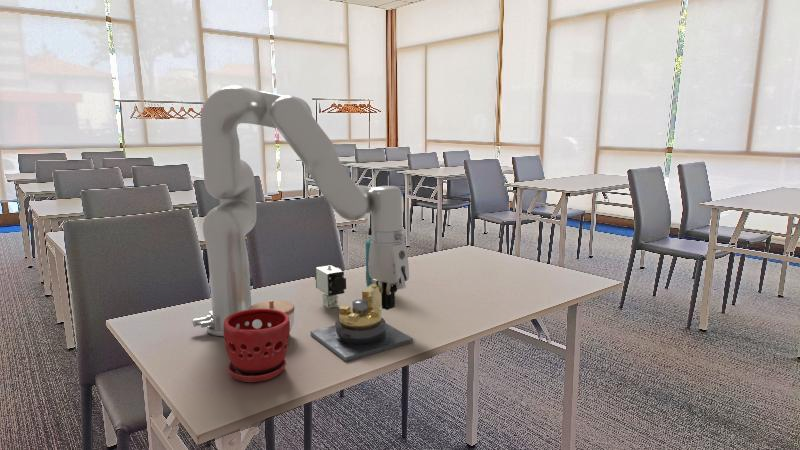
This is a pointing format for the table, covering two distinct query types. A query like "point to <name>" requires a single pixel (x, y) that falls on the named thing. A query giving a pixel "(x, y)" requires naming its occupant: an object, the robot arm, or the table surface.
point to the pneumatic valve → (330, 284)
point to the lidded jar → (275, 305)
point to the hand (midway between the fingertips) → (388, 307)
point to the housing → (360, 340)
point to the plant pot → (256, 344)
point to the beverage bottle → (368, 258)
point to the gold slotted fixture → (363, 310)
